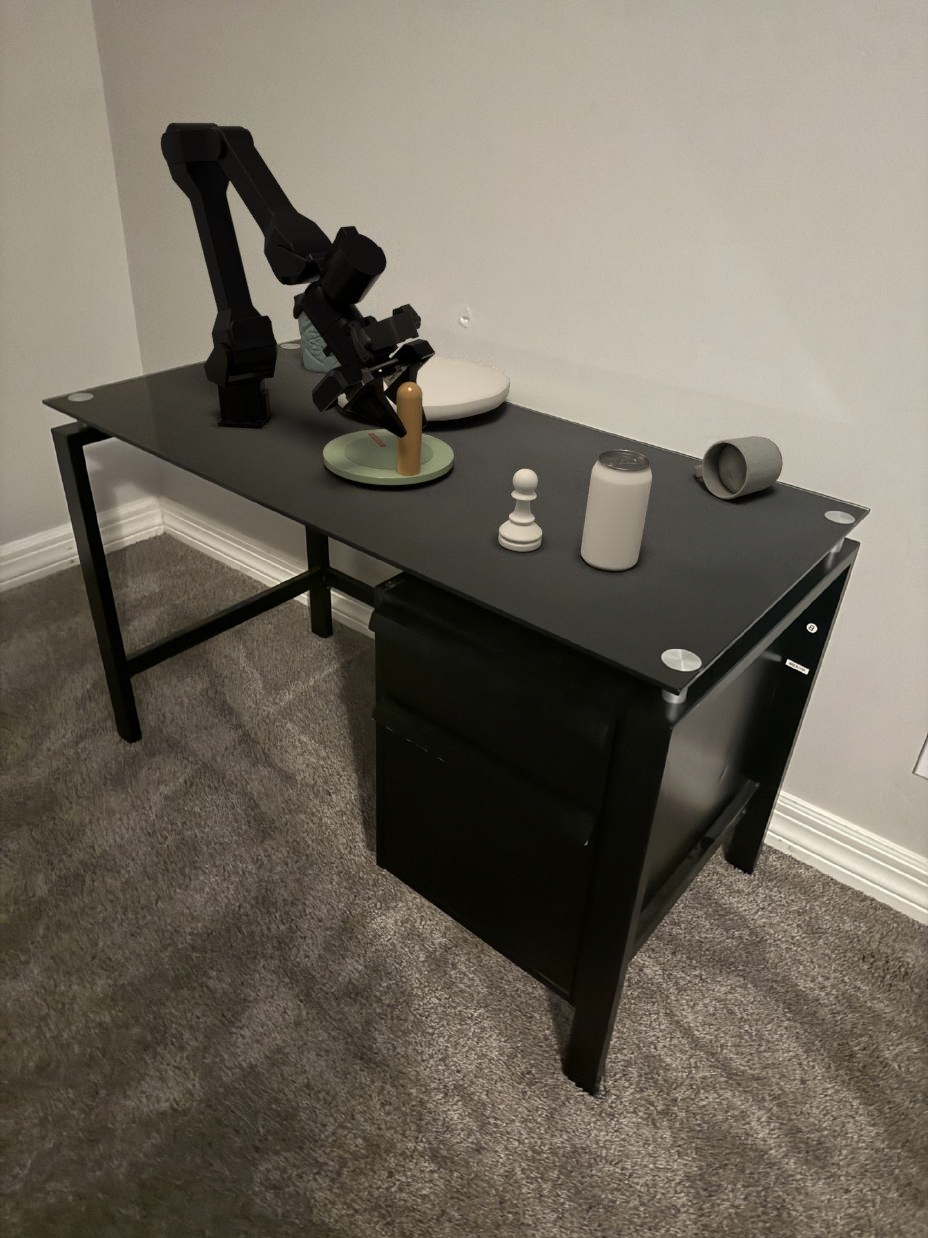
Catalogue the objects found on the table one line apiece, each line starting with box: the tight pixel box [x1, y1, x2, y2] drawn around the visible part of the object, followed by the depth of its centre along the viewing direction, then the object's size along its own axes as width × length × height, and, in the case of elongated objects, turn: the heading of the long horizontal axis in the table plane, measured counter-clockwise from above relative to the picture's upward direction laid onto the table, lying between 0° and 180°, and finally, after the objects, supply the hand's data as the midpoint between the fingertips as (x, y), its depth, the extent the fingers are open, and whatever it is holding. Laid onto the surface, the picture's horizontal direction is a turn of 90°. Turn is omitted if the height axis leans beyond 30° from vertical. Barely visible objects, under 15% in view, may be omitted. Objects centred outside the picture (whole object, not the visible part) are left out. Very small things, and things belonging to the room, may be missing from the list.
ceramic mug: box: [694, 435, 784, 500], centre depth 116 cm, size 11×8×8 cm
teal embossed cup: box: [297, 292, 341, 374], centre depth 153 cm, size 10×10×12 cm
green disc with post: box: [322, 382, 455, 486], centre depth 115 cm, size 18×18×13 cm
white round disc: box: [338, 356, 511, 422], centre depth 139 cm, size 28×6×27 cm
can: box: [580, 449, 653, 572], centre depth 96 cm, size 6×6×12 cm
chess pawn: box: [497, 468, 543, 553], centre depth 99 cm, size 5×5×9 cm
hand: (414, 431), depth 108 cm, fingers open, 4 cm apart
